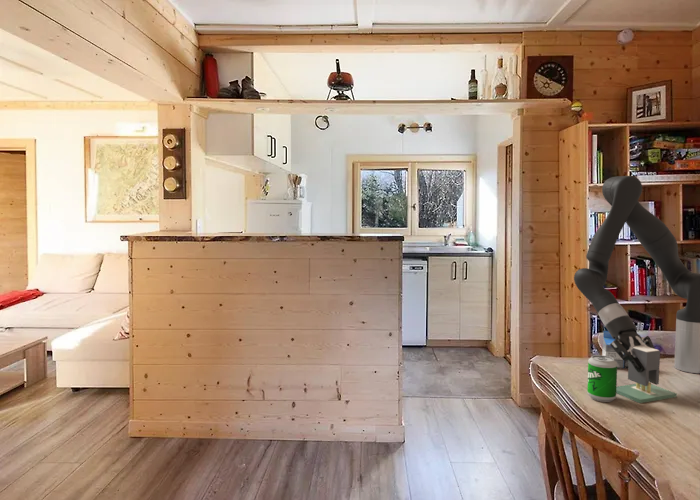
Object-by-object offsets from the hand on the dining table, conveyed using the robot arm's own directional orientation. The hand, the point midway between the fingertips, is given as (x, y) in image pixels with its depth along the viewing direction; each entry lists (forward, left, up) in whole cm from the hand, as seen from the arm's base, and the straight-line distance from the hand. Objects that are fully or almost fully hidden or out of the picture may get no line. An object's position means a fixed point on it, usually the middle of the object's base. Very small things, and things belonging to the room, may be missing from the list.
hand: (649, 369), depth 139 cm
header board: (-1, -2, -8) cm, 8 cm away
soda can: (+12, -8, -8) cm, 17 cm away
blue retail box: (-21, -18, -8) cm, 28 cm away
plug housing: (-1, -2, -4) cm, 5 cm away
